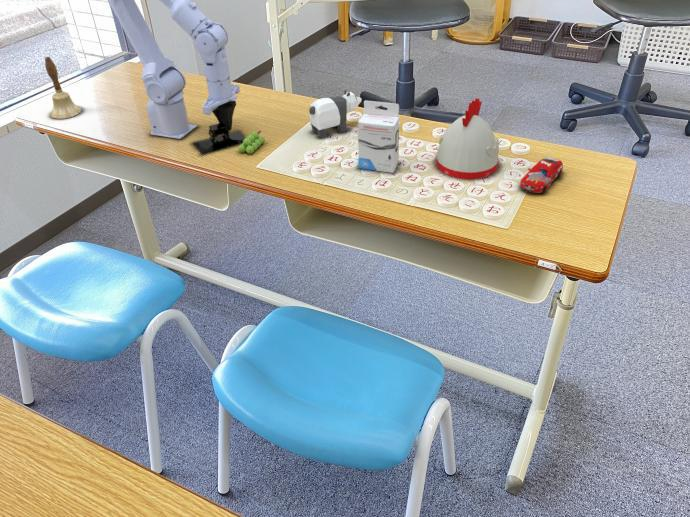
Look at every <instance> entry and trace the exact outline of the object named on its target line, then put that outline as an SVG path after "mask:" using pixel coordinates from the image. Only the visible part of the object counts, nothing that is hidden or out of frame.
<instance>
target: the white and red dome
mask: <svg viewBox="0 0 690 517" xmlns="http://www.w3.org/2000/svg"><path fill="white" fill-rule="evenodd" d="M482 103H483V102H482V101H481V99H480V98H475V99H474V100H471V102H469V103H468V108H467V110H465V112H464V114H465V115H462V116H460V117H458V118H457V119H455V120H454V121H453V122H452V123H451V124H450V125H449V126H448V127H446V129H445V131H444V133H443V134H441V135H440V137H439V142H438V144H439V145H438V147H437V151H436V161H435V162H436V164H435V165H436V167H437V169H438V170H439V171H440V172H441V173H443V174H444V175H447V176H449V177H452V178H456V179H462V180H476V179H477V180H478V179H482V178H487V177H489V176H491V175H492V174H494V173H495V172H496V171H497V169H498V166H499V150H500V149H499V148H500V143H499V142H500V139H499V137H496V136H495V134H494V132H493V129H492V128H491V126H490V125H489V124H488V122H487V121H486V120H485V119H484V118H483V117H481V116H479V114H480V112H481V107H482Z"/></svg>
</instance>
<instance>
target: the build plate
mask: <svg viewBox="0 0 690 517" xmlns="http://www.w3.org/2000/svg"><path fill="white" fill-rule="evenodd" d="M208 135H209V137H208V138H205V139H201V140H197V141H193V142H192V145H193V147H195V149H196V150H197V151H198V152H199V154H201V155H206V154H210V153H213V152H218V151H220V150H224V149H228V148H231V147H235V146H238V145H241V144H242V143H243V140H244V139H245V138H246V137H245V135H243V134H242V133H241V131H239V130H235V131H228V129H227V127H226V126H225V125H224V124H223V123H219V122H218V123H215V124H211V125H208Z"/></svg>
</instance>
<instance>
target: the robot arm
mask: <svg viewBox="0 0 690 517" xmlns="http://www.w3.org/2000/svg"><path fill="white" fill-rule="evenodd" d="M159 1H160V2H161V3H162V4H163V5H164V6H165V7H167V8H168V9H169V10H170V17H171V19H172V20H173V21H174V22H175V23H176V24H177V25H178V26H179V27H180V28H181V29H182V30H184V32H185V33H187V35H188V36H189V37H190V38H191V39H192V40H193V41H194V42H193V45H194V48H195V50H196V51H197V52H198V53H199V55H200V58H201V61H202V65H203V70H204V71H203V72H204V76H205V81H206V86H207V87H206V88H207V92H208V97H207V99H206V100H205V103H204V104H203V105H202V106H201V110H202V114H203V115H209V116H211V115H214V117H215V118H216V120H217V121H218V123H223V124H224V125H225V126H226V127H227V129H228V131H229V132H231V131H232V127H233V119H234V118H233V116H234V112H235V108H236V106H237V101H236V100H237V99H238V97H237V95H238V94H240V93H241V91H240V85H239V84H233V83H232V80H231V75H230V69H229V62H228V57H227V50H226V47H225V46H226V45H227V44H228V41H229V35H228V32H227V30H226V29H225V27H224V26H223V25H222V24H221V23H219V22H216V21H212V19H210V18H208V17H207V16H206V15H205V14H204V13H203V12H202V11H201V10H200V9H199V8H198V4H196V3H195V2H194V1H191V0H159ZM107 2H108V4H109V6H110V7H111V10H112V11H113V13H114V15H115V17H116V19H117V20H118V22H119V24H120V26H121V27H122V30H123V31H124V34H125V35H126V37H127V38H128V40H129V42H130V44H131V46H132V48H133V50H134V52H135V53H136V55H137V57H138V59H139V61H140V62H141V64H142V66H143V67H142V68H143V69H142V73H141V80H142V82H143V84H144V89H145V93H146V95H147V97H148V98H149V100H148V101H147V104H146V112H147V117H148V122H149V125H150V128H151V132H150V135H152V136H159V137H164V138H170V139H171V138H172V139H178V140H181V139H183V138H184V137H185V136H187V135H188V134H189V133H190V132H192V131H193V130H194V129H196V128H197V127H198V126H197V124H192V123H190V122H189V117H188V112H187V108H186V103H185V98H184V89H185V88H186V84H187V81H186V77H185V75H184V74H183V72H182V71H181V70H180V69H179V68H178V67H177V66H176V65H175V62H174V61H173V60H171V59H169V58H167V57H165V56H164V54H163V52H162V50H161V48H160V47H159V44H158V43H157V40H156V39H155V37H154V35H153V33H152V31H151V29H150V27H149V25H148V24H147V21H146V19H145V18H144V16H143V14H142V11H141V10H140V8H139V7H138V4H137V2H136V1H135V0H107Z"/></svg>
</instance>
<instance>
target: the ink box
mask: <svg viewBox="0 0 690 517" xmlns="http://www.w3.org/2000/svg"><path fill="white" fill-rule="evenodd" d="M377 107H378V108H377ZM379 107H382V108H386V109H380V108H379ZM399 114H400V104H399V103H393V102H385V101H374V100H364V101H363V114H362V115H361V117H360V118H359V119H358V121H357V142H358V143H357V148H358V152H357V154H358V155H357V156H358V169H363V170H370V171H375V172H376V171H377V172H385V173H391V174H393V173H395V172H396V171H395V170H396V169H397V166H398V164H399V153H400V152H399V148H400V120H401V119H400V117H399V116H400V115H399Z"/></svg>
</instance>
